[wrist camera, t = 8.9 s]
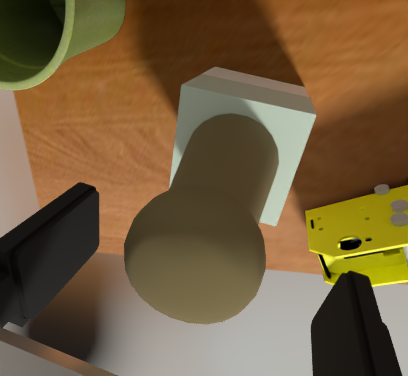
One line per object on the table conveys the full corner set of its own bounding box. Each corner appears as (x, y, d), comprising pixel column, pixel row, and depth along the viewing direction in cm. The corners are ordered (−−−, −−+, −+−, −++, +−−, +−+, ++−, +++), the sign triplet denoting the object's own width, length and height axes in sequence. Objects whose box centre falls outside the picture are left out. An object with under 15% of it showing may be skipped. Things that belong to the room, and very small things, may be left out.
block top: (310, 97, 21) (316, 114, 16) (277, 192, 25) (276, 226, 20) (201, 73, 22) (181, 84, 17) (187, 168, 26) (168, 196, 21)
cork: (176, 182, 21) (88, 311, 11) (199, 99, 17) (104, 180, 8) (257, 212, 20) (238, 372, 11) (296, 133, 17) (315, 260, 8)
